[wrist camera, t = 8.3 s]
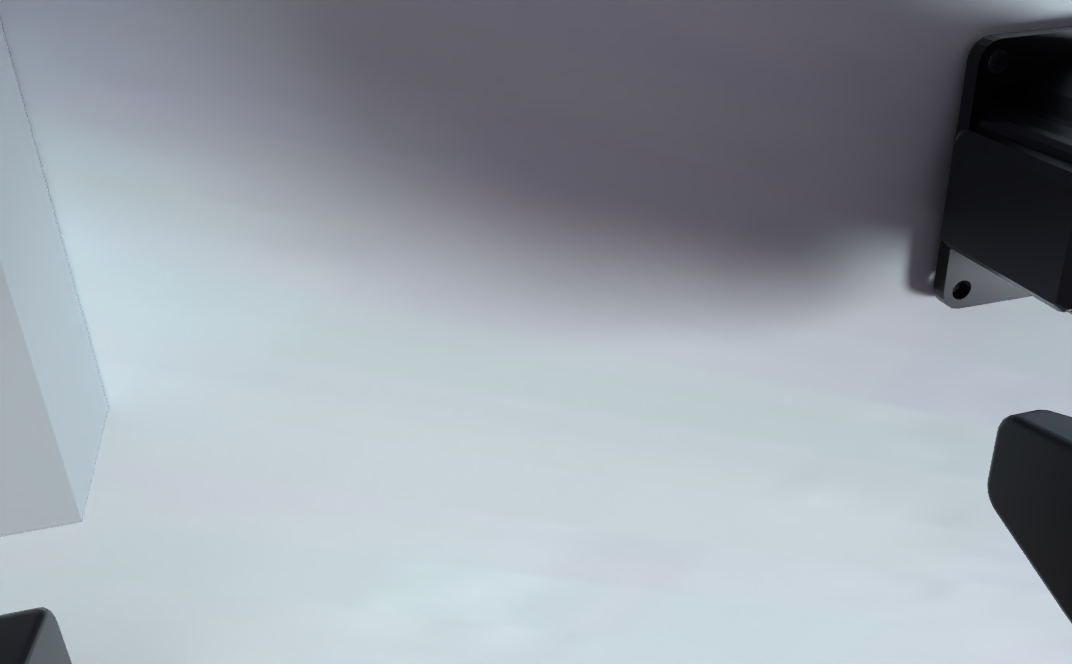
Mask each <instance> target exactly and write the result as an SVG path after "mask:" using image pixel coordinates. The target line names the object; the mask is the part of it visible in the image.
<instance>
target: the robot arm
mask: <svg viewBox="0 0 1072 664" xmlns="http://www.w3.org/2000/svg"><path fill="white" fill-rule="evenodd" d="M996 51H997V58H996V61H995V63H994V64H993V66H992V67H991V68H989V67H988V62H989V60H990V57H991V56H992V55H993V54H994V52H996ZM960 281H961V283H960V286H959V288H958V289H957V290H956V291H954V292H952V291H953V289H954V286H955V285H956V284H957V283H958V282H960ZM934 294H935V296H936V297H937V299H938V300H940V301H941V302H943V303H944V304H946V305H948V306H949V307H951V308H964V307H970V306H976V305H982V304H988V303H994V302H999V301H1005V300H1011V299H1017V298H1023V297H1029V296H1033V297H1035V298H1037V299H1038V300H1040V301H1042V302H1044V303H1045V304H1047V305H1049V306H1050V307H1052V308H1054V309H1056V310H1057V311H1060V312H1069V313H1070V314H1072V26H1071V27H1061V28H1052V29H1043V30H1034V31H1024V32H1015V33H1006V34H997V35H989V36H986V37H983V38H982V39H980V40H979V41H978V42H977V43H975V45H974V46H973V48H972V49H971V51H970V53H969V56H968V59H967V65H966V71H965V78H964V85H963V92H962V99H961V105H960V112H959V119H958V126H957V133H956V139H955V142H954V149H953V155H952V162H951V169H950V176H949V183H948V189H947V196H946V203H945V210H944V217H943V224H942V230H941V242H940V248H939V255H938V262H937V269H936V276H935V283H934ZM987 485H988V494H989V498H990V501H991V503H992V506H993V508H994V509H995V511H996V512H997V514H998V515H999V517H1000V518H1001V520H1002V521H1003V523H1004V524H1005V526H1006V527H1007V529H1008V530H1009V532H1010V533H1011V535H1012V536H1013V538H1014V539H1015V541H1016V542H1017V544H1018V545H1019V547H1020V548H1021V550H1022V551H1023V552H1024V554H1025V555H1026V557H1027V558H1028V560H1029V561H1030V563H1031V564H1032V566H1033V567H1034V569H1035V570H1036V572H1037V573H1038V575H1039V576H1040V578H1041V579H1042V581H1043V582H1044V584H1045V585H1046V587H1047V588H1048V590H1049V591H1050V593H1051V594H1052V596H1053V597H1054V598H1055V600H1056V601H1057V603H1058V604H1059V606H1060V607H1061V609H1062V610H1063V612H1064V613H1065V615H1066V616H1067V617H1068V619H1069V620H1070V622H1071V623H1072V417H1069V416H1066V415H1062V414H1059V413H1055V412H1052V411H1048V410H1035V411H1030V412H1025V413H1020V414H1015V415H1010V416H1008V417H1007V418H1005V419H1004V420H1003V421H1002V422H1001V424H1000V425H999V428H998V431H997V436H996V441H995V446H994V451H993V456H992V462H991V467H990V472H989V477H988V484H987ZM0 664H72V663H71V660H70V657H69V654H68V651H67V649H66V646H65V643H64V640H63V637H62V634H61V631H60V628H59V625H58V623H57V620H56V618H55V616H54V615H53V613H52V612H51V611H50V610H48V609H46V608H43V607H40V608H35V609H30V610H24V611H19V612H14V613H9V614H4V615H1V616H0Z"/></svg>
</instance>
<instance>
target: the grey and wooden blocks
mask: <svg viewBox="0 0 1072 664" xmlns="http://www.w3.org/2000/svg"><path fill="white" fill-rule="evenodd" d="M108 409H109V406H108V402H107V399H106V395H105V392H104V388H103V385H102V381H101V377H100V374H99V370H98V367H97V363H96V360H95V356H94V352H93V349H92V345H91V342H90V338H89V335H88V331H87V327H86V324H85V320H84V317H83V313H82V310H81V306H80V303H79V299H78V295H77V292H76V288H75V285H74V281H73V278H72V274H71V270H70V267H69V263H68V260H67V256H66V253H65V249H64V245H63V242H62V238H61V235H60V231H59V228H58V224H57V221H56V217H55V213H54V210H53V206H52V203H51V199H50V196H49V192H48V188H47V185H46V181H45V178H44V174H43V171H42V167H41V163H40V160H39V156H38V153H37V149H36V146H35V142H34V139H33V135H32V131H31V128H30V124H29V121H28V117H27V114H26V110H25V106H24V103H23V99H22V96H21V92H20V89H19V85H18V81H17V78H16V74H15V71H14V67H13V64H12V60H11V56H10V53H9V49H8V46H7V42H6V39H5V35H4V32H3V28H2V24H1V21H0V537H1V536H7V535H12V534H18V533H23V532H29V531H34V530H39V529H45V528H50V527H56V526H61V525H67V524H72V523H78V522H82V520H83V516H84V511H85V507H86V503H87V499H88V494H89V490H90V486H91V482H92V477H93V473H94V469H95V464H96V460H97V456H98V452H99V447H100V443H101V439H102V435H103V430H104V426H105V422H106V418H107V413H108Z"/></svg>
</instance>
